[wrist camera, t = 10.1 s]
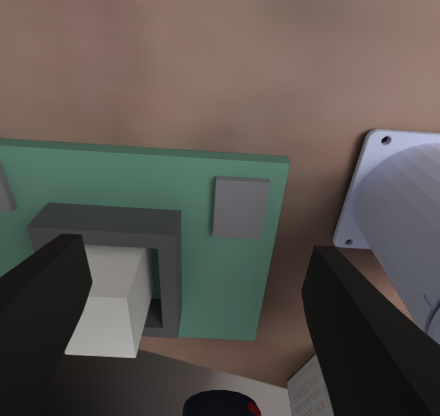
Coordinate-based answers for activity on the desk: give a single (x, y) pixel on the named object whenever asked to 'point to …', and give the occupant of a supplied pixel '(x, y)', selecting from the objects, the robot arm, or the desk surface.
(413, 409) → the robot arm
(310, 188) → the desk surface
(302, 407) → the small box
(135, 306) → the plug block
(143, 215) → the board
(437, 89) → the desk surface
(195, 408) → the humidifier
